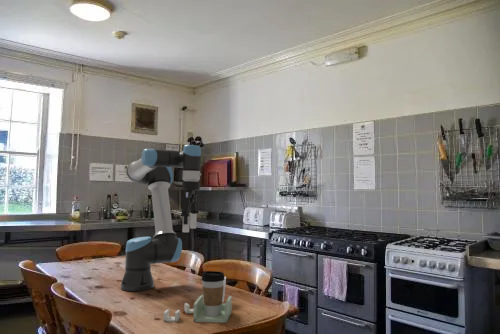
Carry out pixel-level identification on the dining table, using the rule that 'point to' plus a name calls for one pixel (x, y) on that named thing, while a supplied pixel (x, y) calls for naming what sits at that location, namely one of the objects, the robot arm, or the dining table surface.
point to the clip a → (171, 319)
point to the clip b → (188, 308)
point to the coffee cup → (213, 292)
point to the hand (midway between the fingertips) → (189, 230)
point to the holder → (201, 317)
